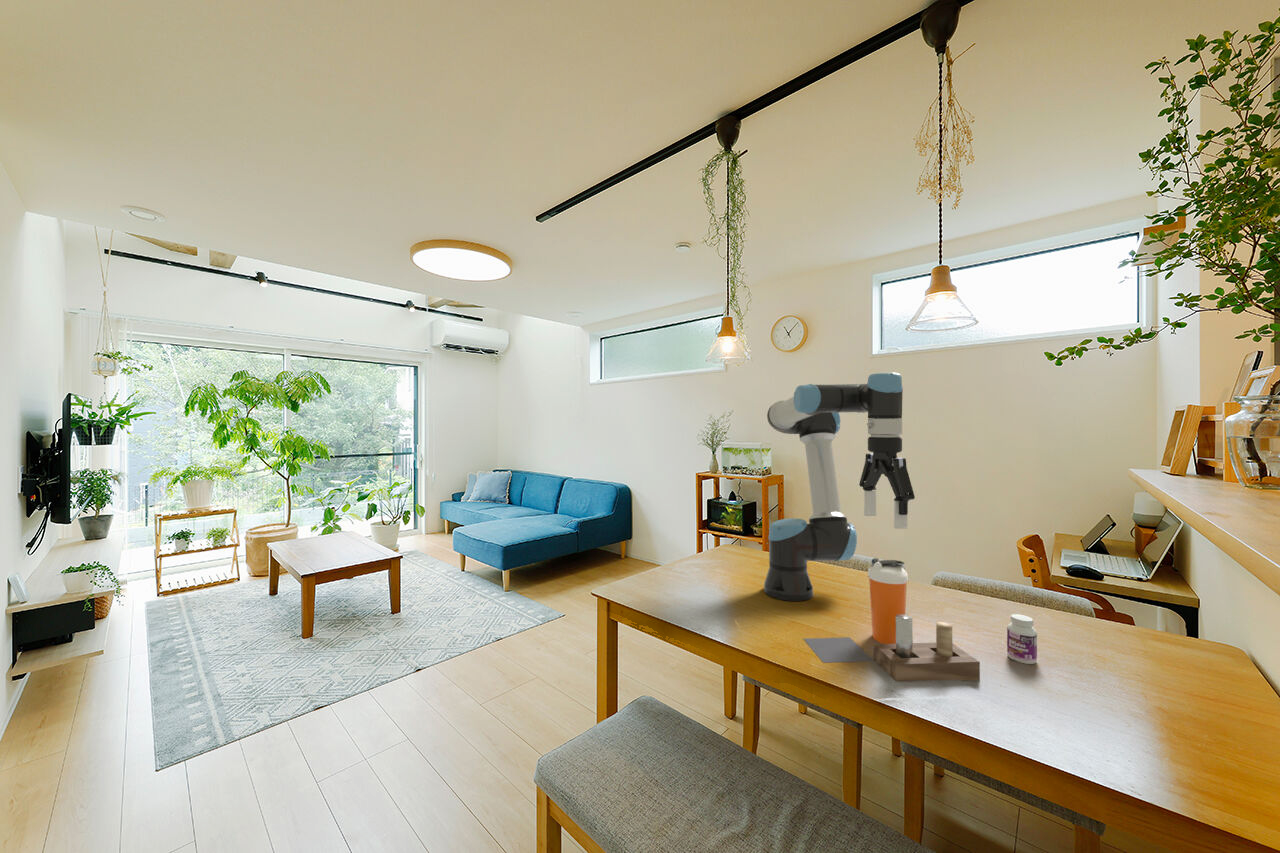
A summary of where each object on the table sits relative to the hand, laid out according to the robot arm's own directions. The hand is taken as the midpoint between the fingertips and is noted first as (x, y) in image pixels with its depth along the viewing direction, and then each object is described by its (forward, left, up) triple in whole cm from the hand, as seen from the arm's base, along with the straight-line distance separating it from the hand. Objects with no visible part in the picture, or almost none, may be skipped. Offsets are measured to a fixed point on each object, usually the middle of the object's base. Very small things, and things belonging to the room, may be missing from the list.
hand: (884, 521), depth 116 cm
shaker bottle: (-2, +2, -31) cm, 31 cm away
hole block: (+13, +1, -30) cm, 33 cm away
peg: (+13, -3, -30) cm, 33 cm away
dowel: (+13, +6, -30) cm, 33 cm away
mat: (+3, -14, -30) cm, 33 cm away
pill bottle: (+9, +27, -31) cm, 42 cm away
